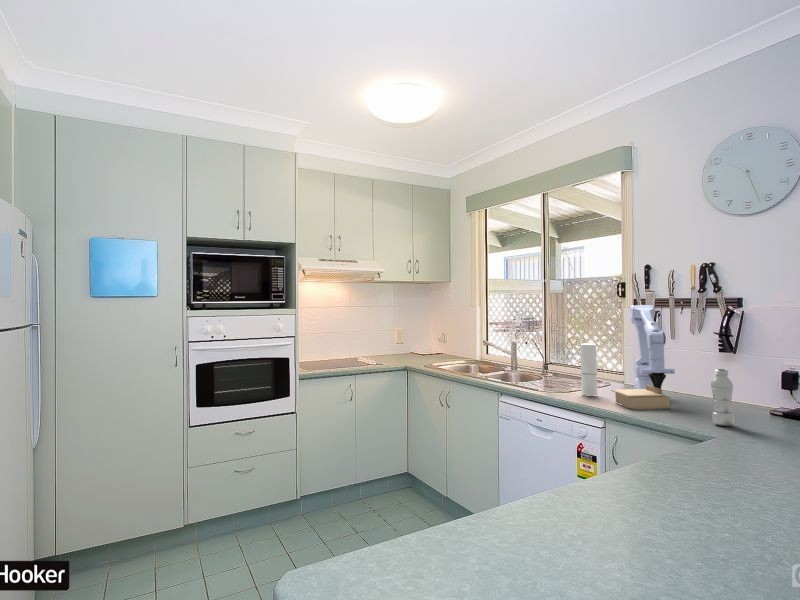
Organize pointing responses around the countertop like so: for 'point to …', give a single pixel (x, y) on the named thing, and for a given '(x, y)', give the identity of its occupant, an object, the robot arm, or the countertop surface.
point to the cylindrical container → (588, 369)
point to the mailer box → (644, 402)
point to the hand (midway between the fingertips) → (657, 390)
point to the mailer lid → (640, 392)
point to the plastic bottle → (722, 399)
